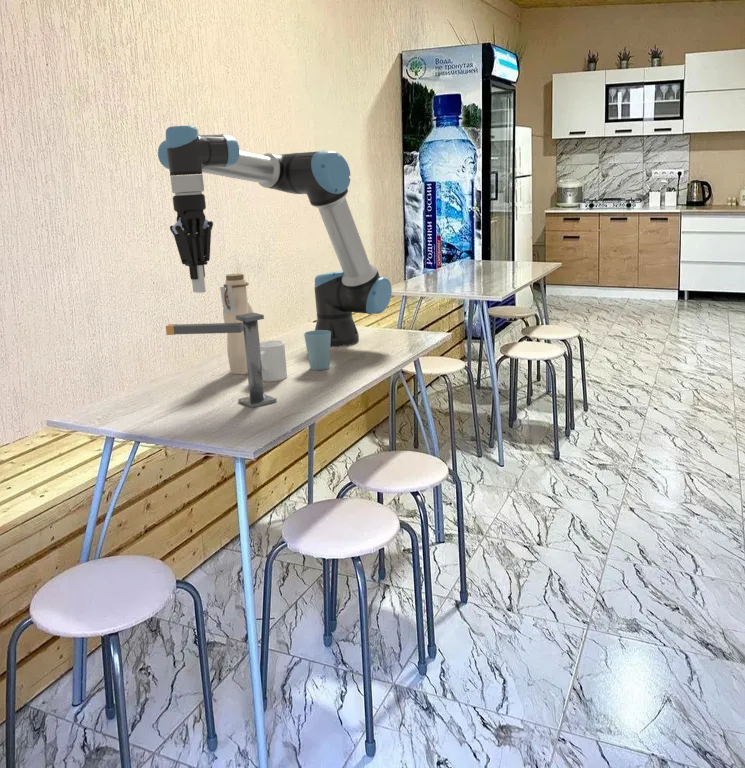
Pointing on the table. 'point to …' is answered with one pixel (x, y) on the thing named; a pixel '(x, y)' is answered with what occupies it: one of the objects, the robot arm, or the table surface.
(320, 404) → the table surface
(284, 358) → the mug
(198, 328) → the bar
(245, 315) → the post
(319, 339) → the cup
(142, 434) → the table surface
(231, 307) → the water bottle
